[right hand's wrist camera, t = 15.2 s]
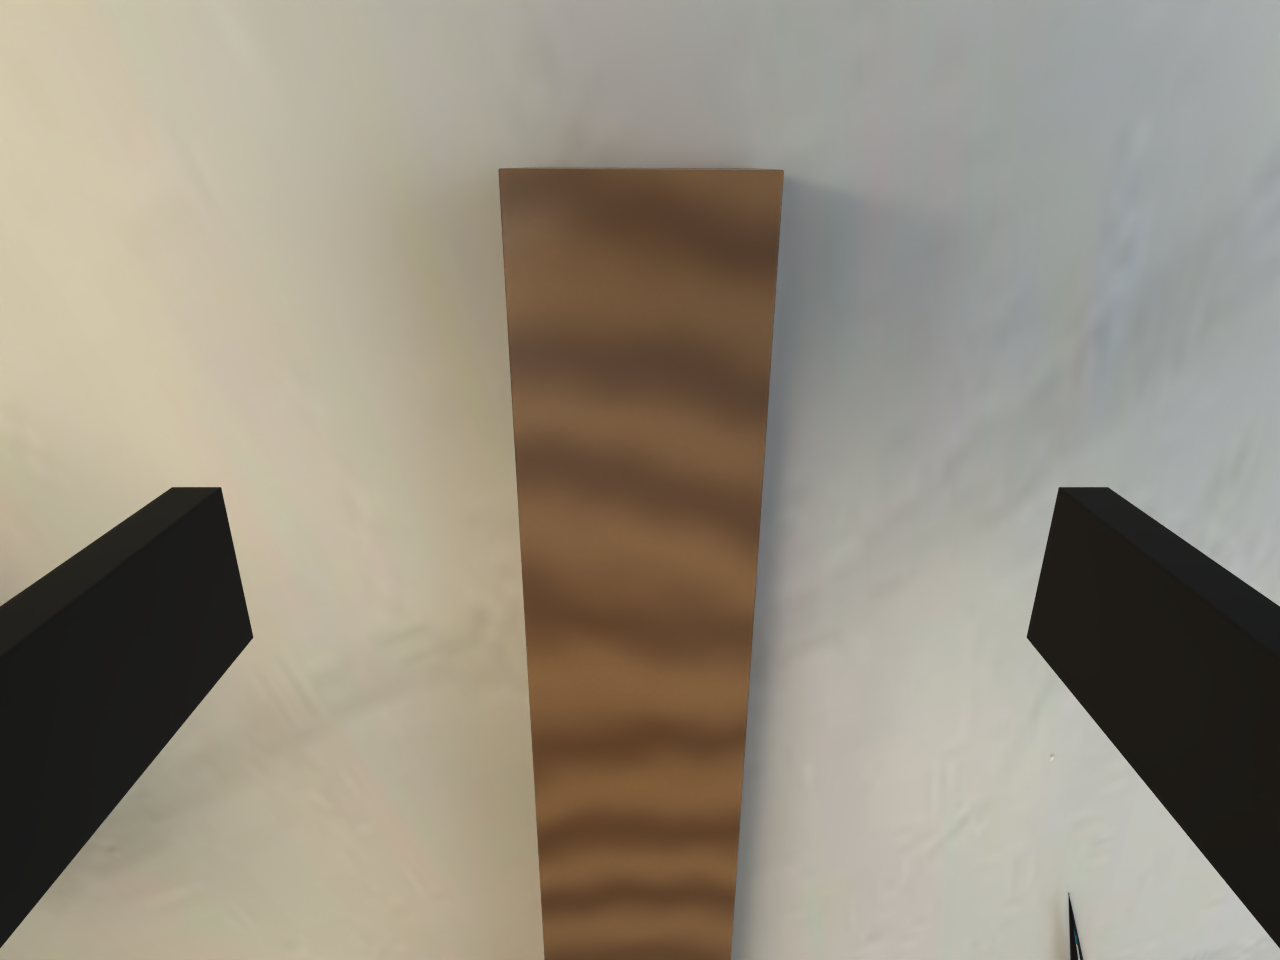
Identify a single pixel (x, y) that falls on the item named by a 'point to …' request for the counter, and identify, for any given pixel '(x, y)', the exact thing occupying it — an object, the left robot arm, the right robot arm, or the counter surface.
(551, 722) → the thick board
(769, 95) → the counter surface
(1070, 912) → the feather
